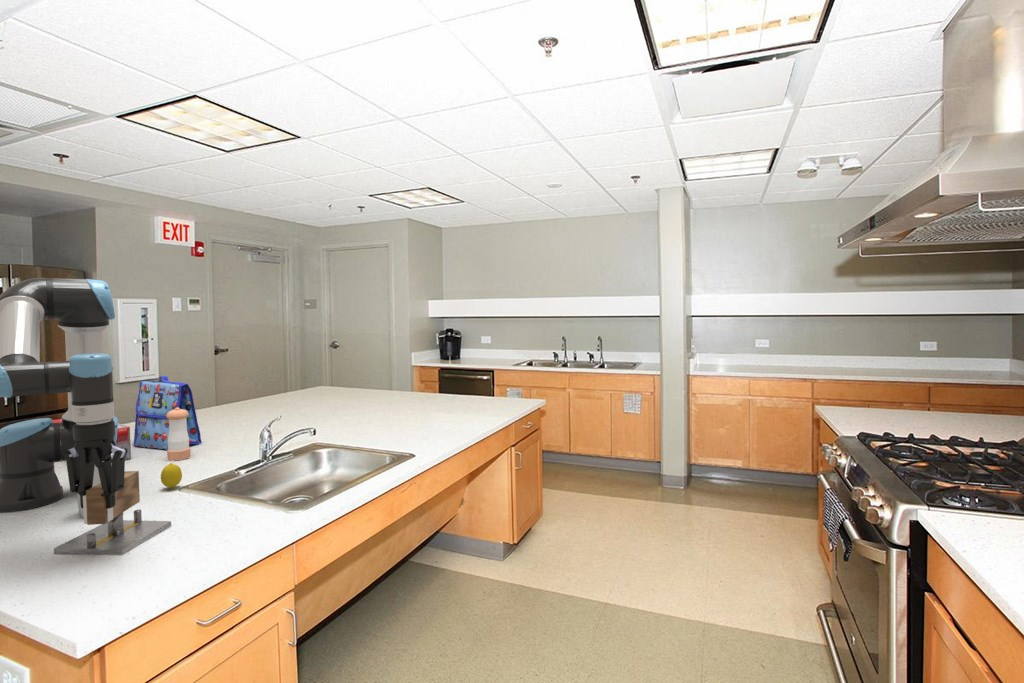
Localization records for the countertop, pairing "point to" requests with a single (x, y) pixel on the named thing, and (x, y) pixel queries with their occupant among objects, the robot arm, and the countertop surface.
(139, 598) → the countertop surface
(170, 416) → the pink and white bottle
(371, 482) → the countertop surface
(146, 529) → the base plate
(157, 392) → the lunch bag
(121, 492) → the wooden block
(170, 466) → the lemon
